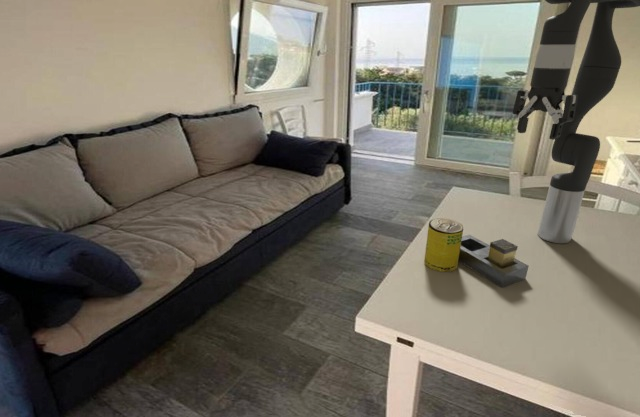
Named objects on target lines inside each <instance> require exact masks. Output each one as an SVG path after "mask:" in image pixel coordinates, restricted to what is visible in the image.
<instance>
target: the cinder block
mask: <svg viewBox="0 0 640 417" xmlns="http://www.w3.org/2000/svg"><path fill="white" fill-rule="evenodd" d="M489 251H490V244H488V243H486V242H485V241H482V240H480V239H479V238H476V237H475V236H473V235H471V234H467V235H462V240H461V246H460V252H459V259H458V263H459V262H460V263H461V264H463V265H465V266H466V267H468V268H469V269H471V270H473V272H475V273H477V274H479V275H480V276H482V277H484V278H486V279H487V280H489V281H490V282H492V283H493V284H495V285H497V286H498V287H500V288H505V287H508V286H510V285H512V284H516V283H519V282H520V281H524V280H526V279H527V274H528V269H529V265H528V264H526V263H524V262H523V261H520V260H519V259H517V258H516V257H515V258H514V262H513V265H512V266H509V267H506V268H503V269H501V268H500V267H498V266H496V265H494V264H493V263H491V262H489V261H488V256H489Z"/></svg>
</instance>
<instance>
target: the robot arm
mask: <svg viewBox="0 0 640 417" xmlns="http://www.w3.org/2000/svg"><path fill="white" fill-rule="evenodd" d="M544 1H545V2H546V3H548V4H550V5H560V4H568V3H569V5H568V6H567V8H566V10H564V11H563V12H562V13H559V14H556V15H553V16H550V17H548V18H547V19H546V20H545V21H544V23H543V27H542V31H541V37H540V41H539V47H538V49H537V53H536V55H535V60H534V64H533V65H534V66H533V70H532V74H531V79H530V83H529V84H530V85H529V86H530V88H529V90H527V89H520V90H517V91H516V96H515V101H514V104H513V109H512V114H513V115H515V116H517V117H518V123H517V127H516V129H517V133H518V134H524V133H526V132H527V128H528V123H529V119H530V118H529V116H530V115H531V114H532V113H533V112H535V111H541V112H545V113H548V115H549V116H550V117H551V120H552V121H553V123H552V124H551V129H550V134H549V138H548V139H550V140H552V141H553V140H554V141H553V145H552V148H551V159H552V160H553V161H554V162H556V163H560V164H564V165H569V166H573V170H572V171H571V172H564V173H563V172H562V173H556V174H554V175H552V177H551V179H550V182H549V187H548V190H547V195H546V198H545V202H544V206H543V210H542V214H541V219H540V222H539V228H538V230H537V236H538V237H539V238H541V239H542V240H544V241H547V242H550V243H555V244H568V243H570V242H571V240H572V238H573V235H574V231H575V227H576V225H577V221H578V218H579V214H580V208H581V206H582V203H583V199H584V194H585V191H586V189H587V186H588V183H589V180H590V178H591V176H592V173H593V169H594V166H595V163H596V161H597V158H598V155H599V152H600V149H601V141H600V139H599V137H597V136H595V135H590V134H582V133H577V130H578V127H579V126H580V124H581V122H582V120H584V117H585V116H587V115H588V113H589V112H590V111H591V110H592V109H593V108H594V107H595V106H596V105H597V104H599V103H601V101H602V100H603V99H604V98H605V97H606V96H607V95H608V94H609V93H610V92H611V91H612V89H613V88H614V86H615V85H616V81H617V77H618V75H619V73H620V69H621V66H622V57H621V52H620V49H619V47H618V44H617V42H616V38H615V36H614V32H613V17H614V13H615V10H616V9H628V8H629V9H630V8H638V7H640V0H544ZM591 4H596V8H595V12H594V17H593V22H592V26H591V31H590V34H589V37H588V40H587V44H586V47H585V51H584V53H583V57H582V60H581V62H580V65H579V67H578V70H577V71H578V72H577V74H576V78H575V82H574V85H573V89H572V92H571V94H565V90H566V88H567V87H568V82H569V77H570V74H571V70H572V65H573V63H574V62H573V60H574V56H575V48H576V44H577V43H576V42H577V39H578V35H579V30H580V28H581V27H580V26H581V24H582V22H583V20H584V17H585V15H586V14H587V11H588V9H589V7H590V5H591ZM527 99H528V100H529V101H528V102H527V103H526V101H527ZM562 102H563V104H564V106H563V107H562V105H561V103H562Z"/></svg>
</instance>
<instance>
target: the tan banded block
mask: <svg viewBox="0 0 640 417" xmlns="http://www.w3.org/2000/svg"><path fill="white" fill-rule="evenodd" d="M489 245H490V251H489V256H488V261H489V262H491V263H493V264H494V265H496V266H498V267H500V268H501V269H503V268H506V267H509V266H512V265H513V262H514V258H515V259H516V257H515V256H516V253H517V250H518V247H519V246H518V245H516V244H514V243H512V242H510V241H508V240H506V239H503V238H500V239H498V240H494V241H491V242H490V243H489Z"/></svg>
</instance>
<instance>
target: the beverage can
mask: <svg viewBox="0 0 640 417" xmlns="http://www.w3.org/2000/svg"><path fill="white" fill-rule="evenodd" d="M427 228H428V229H427V235H426V246H425V251H424V252H425V253H424V261H423V262H424V264H425V265H426V267H428V268H429V269H431V270H433V271H435V272H440V273H448V272H453V271H455V270H457V268H458V265H459V264H458V263H459V261H458V259H459V252H460V246H461V240H462V236H463V233H464V225H463V224H462V223H461V222H459V221H457V220H454V219H450V218H443V217H442V218H441V217H440V218H433V219H431V220H430V221H429V223H428V227H427Z"/></svg>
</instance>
